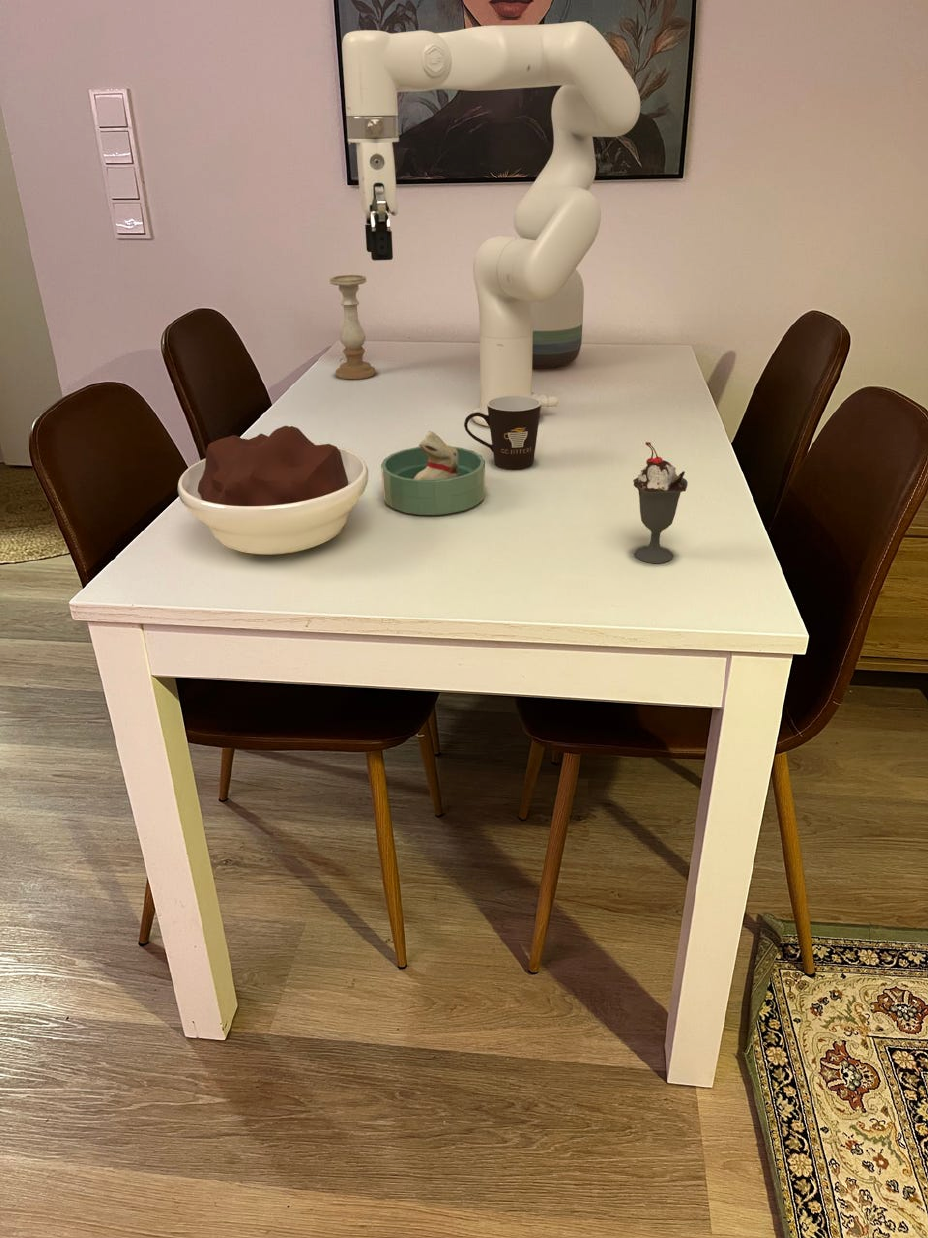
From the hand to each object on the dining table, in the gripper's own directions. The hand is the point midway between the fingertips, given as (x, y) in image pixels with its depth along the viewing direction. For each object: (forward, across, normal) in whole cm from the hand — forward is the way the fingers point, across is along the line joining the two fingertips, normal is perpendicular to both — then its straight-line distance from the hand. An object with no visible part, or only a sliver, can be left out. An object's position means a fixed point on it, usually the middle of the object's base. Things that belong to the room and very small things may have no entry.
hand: (379, 255), depth 141 cm
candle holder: (+31, +51, +2) cm, 60 cm away
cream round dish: (+32, -34, +18) cm, 50 cm away
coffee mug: (+31, -11, -18) cm, 38 cm away
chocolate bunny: (+31, -24, -4) cm, 39 cm away
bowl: (+31, -24, -4) cm, 40 cm away
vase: (+31, +50, -40) cm, 70 cm away
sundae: (+31, -50, -30) cm, 66 cm away
